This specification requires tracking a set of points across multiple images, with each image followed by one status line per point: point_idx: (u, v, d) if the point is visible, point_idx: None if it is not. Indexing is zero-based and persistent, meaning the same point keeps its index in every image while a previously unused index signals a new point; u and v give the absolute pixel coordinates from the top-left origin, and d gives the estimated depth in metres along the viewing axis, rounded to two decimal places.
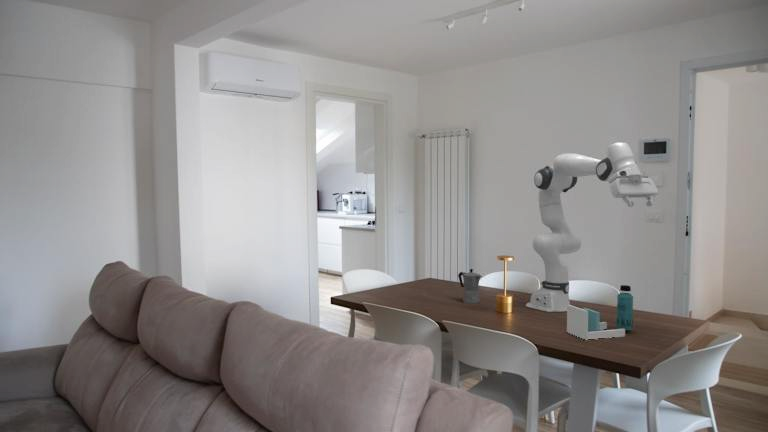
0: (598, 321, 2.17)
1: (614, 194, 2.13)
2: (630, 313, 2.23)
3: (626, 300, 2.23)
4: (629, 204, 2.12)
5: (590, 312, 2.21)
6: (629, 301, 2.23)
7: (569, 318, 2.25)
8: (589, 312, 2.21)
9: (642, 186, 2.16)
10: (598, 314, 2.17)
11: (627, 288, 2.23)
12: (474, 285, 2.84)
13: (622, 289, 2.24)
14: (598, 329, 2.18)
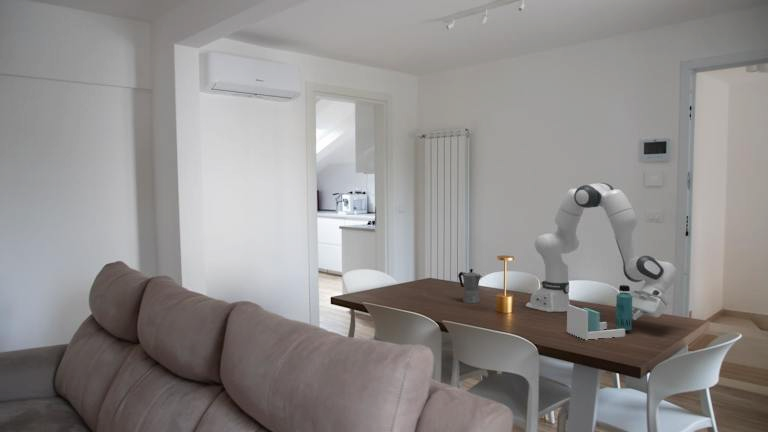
0: (598, 321, 2.17)
1: (656, 312, 2.18)
2: (629, 313, 2.23)
3: (625, 300, 2.23)
4: (635, 318, 2.26)
5: (590, 312, 2.21)
6: (628, 301, 2.23)
7: (569, 318, 2.25)
8: (589, 312, 2.21)
9: None
10: (598, 314, 2.17)
11: (626, 288, 2.23)
12: (474, 285, 2.84)
13: (621, 289, 2.24)
14: (598, 329, 2.18)
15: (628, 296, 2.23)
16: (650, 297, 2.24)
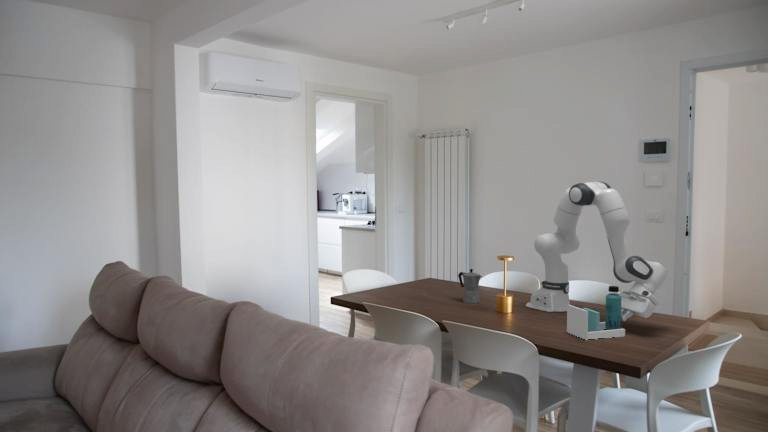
0: (598, 321, 2.17)
1: (645, 312, 2.17)
2: (617, 314, 2.21)
3: (613, 301, 2.21)
4: (624, 319, 2.24)
5: (590, 312, 2.21)
6: (616, 302, 2.21)
7: (569, 318, 2.25)
8: (589, 312, 2.21)
9: None
10: (598, 314, 2.17)
11: (615, 289, 2.22)
12: (474, 285, 2.84)
13: (610, 290, 2.23)
14: (598, 329, 2.18)
15: (616, 297, 2.21)
16: (640, 298, 2.22)
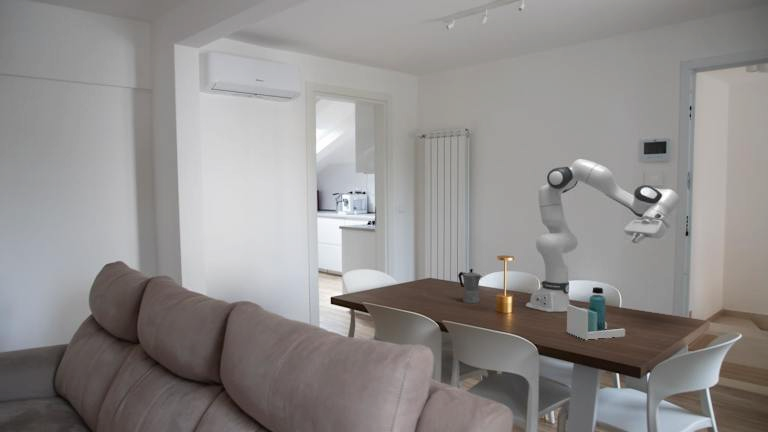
0: (596, 321, 2.17)
1: (658, 233, 2.26)
2: (601, 316, 2.19)
3: (597, 302, 2.19)
4: (637, 241, 2.34)
5: (588, 312, 2.20)
6: (600, 304, 2.19)
7: (569, 318, 2.25)
8: None
9: None
10: (596, 314, 2.17)
11: (598, 290, 2.19)
12: (474, 285, 2.84)
13: (593, 291, 2.21)
14: (596, 329, 2.17)
15: (600, 298, 2.19)
16: (653, 221, 2.32)
